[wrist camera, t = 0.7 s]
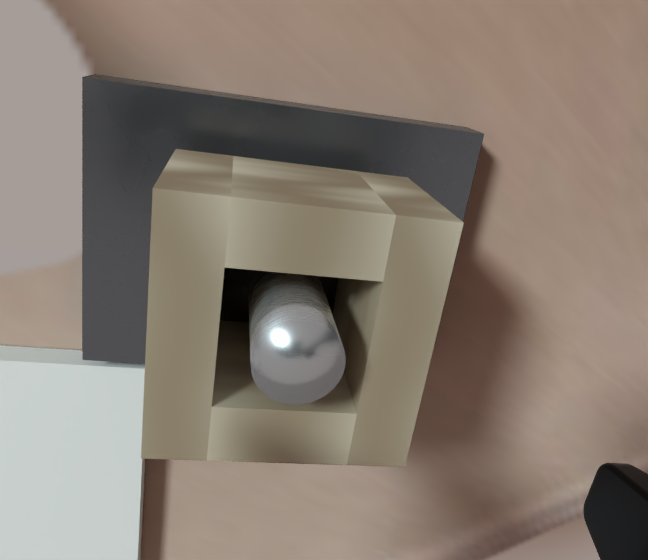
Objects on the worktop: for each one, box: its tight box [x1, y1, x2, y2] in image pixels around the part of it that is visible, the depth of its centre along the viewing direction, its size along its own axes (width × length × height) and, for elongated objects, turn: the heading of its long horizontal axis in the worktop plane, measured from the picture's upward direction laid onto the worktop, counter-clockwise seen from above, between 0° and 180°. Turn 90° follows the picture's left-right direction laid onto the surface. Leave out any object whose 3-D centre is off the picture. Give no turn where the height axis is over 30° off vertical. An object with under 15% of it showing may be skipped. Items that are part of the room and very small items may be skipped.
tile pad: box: [0, 345, 145, 560], centre depth 22 cm, size 10×10×1 cm
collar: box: [141, 149, 464, 467], centre depth 15 cm, size 6×6×4 cm
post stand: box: [82, 74, 484, 404], centre depth 16 cm, size 12×9×9 cm
